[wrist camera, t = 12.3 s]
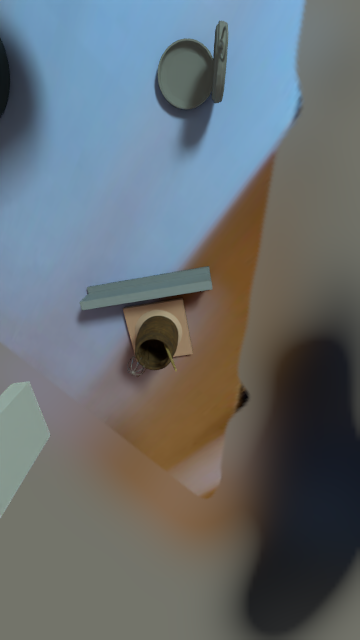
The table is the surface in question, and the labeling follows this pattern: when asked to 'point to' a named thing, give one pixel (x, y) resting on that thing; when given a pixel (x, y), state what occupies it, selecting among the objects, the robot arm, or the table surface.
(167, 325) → the utensil holder
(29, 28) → the table surface
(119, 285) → the low wall
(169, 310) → the coaster
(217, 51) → the pocket watch
